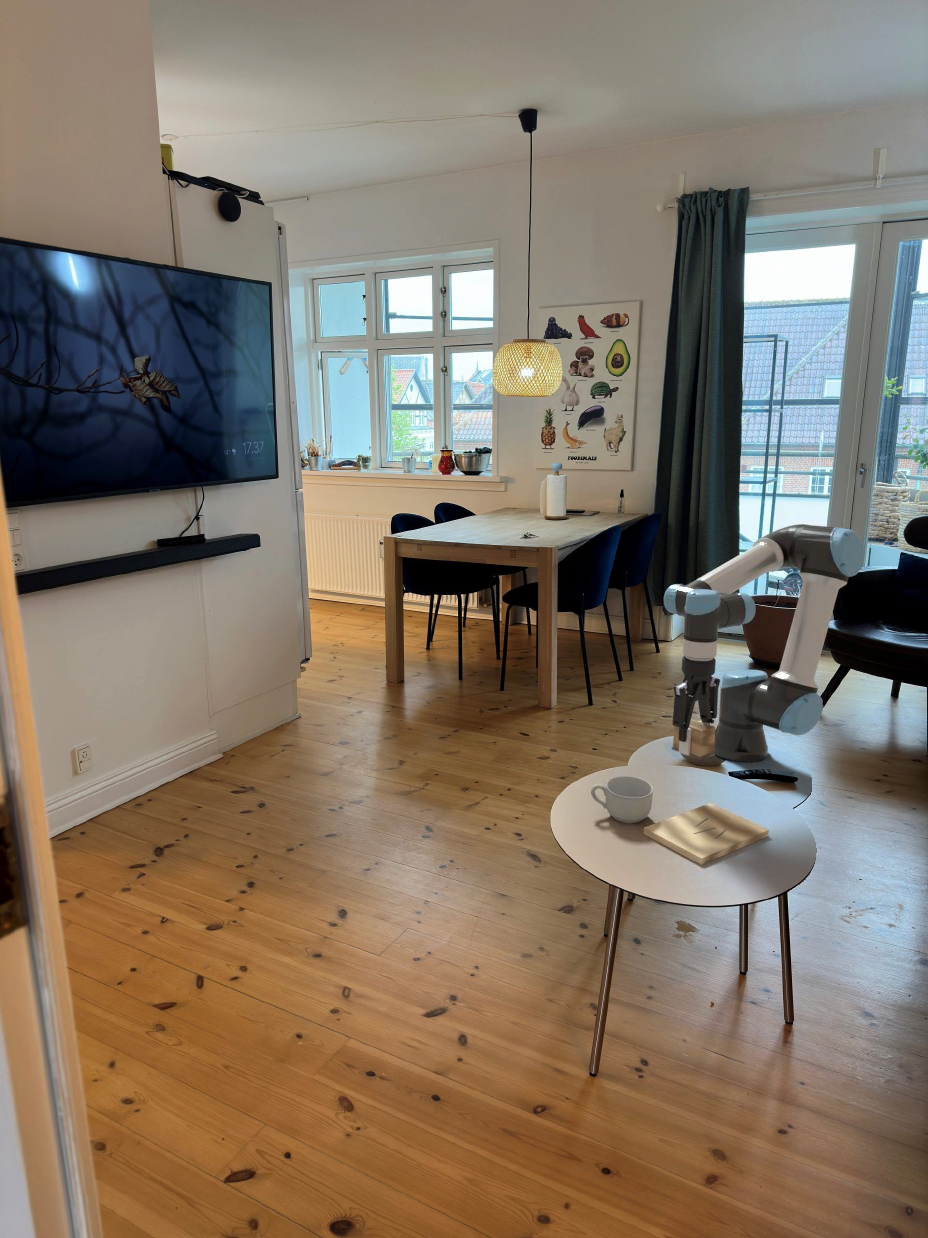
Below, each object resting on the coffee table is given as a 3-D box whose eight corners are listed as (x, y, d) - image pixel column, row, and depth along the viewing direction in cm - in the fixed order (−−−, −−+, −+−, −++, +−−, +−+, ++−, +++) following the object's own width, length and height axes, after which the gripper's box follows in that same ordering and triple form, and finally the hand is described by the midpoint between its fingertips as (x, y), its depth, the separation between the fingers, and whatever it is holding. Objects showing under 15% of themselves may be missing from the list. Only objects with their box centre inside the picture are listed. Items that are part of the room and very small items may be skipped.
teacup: (655, 811, 190) (657, 779, 188) (647, 832, 180) (649, 798, 178) (596, 801, 195) (597, 770, 193) (585, 821, 185) (586, 788, 183)
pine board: (709, 809, 191) (710, 803, 191) (768, 836, 178) (768, 829, 178) (643, 834, 179) (643, 827, 179) (701, 865, 166) (701, 858, 166)
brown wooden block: (686, 745, 198) (688, 717, 196) (714, 755, 191) (716, 727, 190) (671, 749, 195) (673, 721, 193) (699, 760, 188) (701, 731, 187)
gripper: (712, 647, 196) (706, 738, 201) (658, 659, 186) (653, 754, 191) (738, 654, 190) (731, 747, 195) (684, 666, 180) (678, 764, 185)
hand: (693, 750), depth 193 cm, fingers closed on brown wooden block, 5 cm apart
